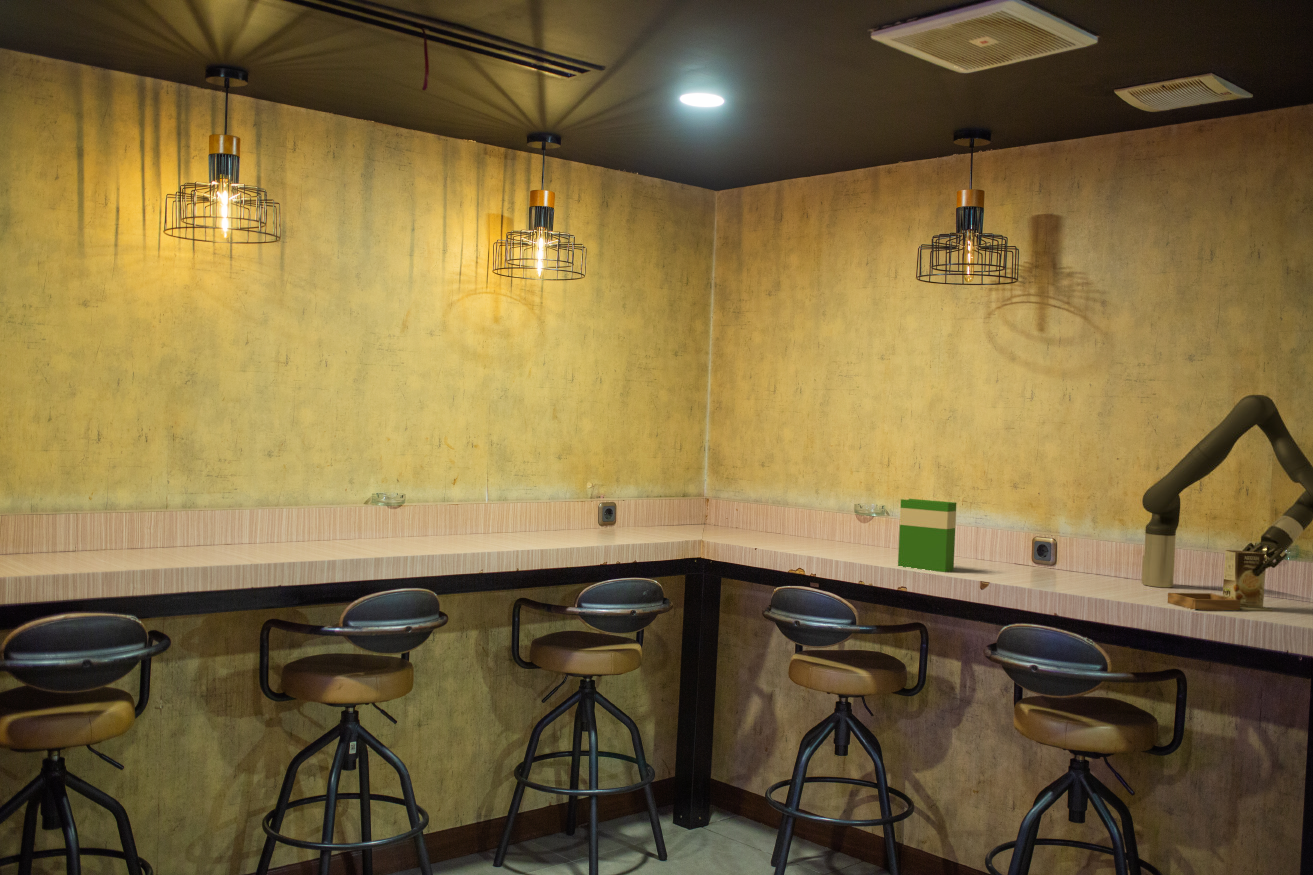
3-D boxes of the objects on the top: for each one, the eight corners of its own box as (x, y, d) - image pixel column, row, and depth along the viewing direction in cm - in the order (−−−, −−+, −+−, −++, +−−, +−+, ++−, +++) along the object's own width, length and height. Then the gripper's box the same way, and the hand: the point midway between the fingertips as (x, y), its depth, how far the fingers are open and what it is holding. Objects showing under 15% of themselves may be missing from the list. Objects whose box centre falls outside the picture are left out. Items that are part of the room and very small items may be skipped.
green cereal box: (897, 566, 382) (900, 499, 382) (906, 564, 388) (909, 498, 387) (945, 572, 371) (948, 503, 371) (953, 570, 377) (956, 502, 377)
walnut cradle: (1167, 602, 322) (1168, 592, 322) (1210, 603, 324) (1211, 593, 324) (1194, 610, 309) (1195, 599, 309) (1239, 610, 312) (1239, 600, 312)
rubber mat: (1212, 602, 324) (1212, 601, 324) (1241, 603, 326) (1241, 601, 326) (1242, 610, 312) (1242, 609, 312) (1273, 611, 313) (1273, 609, 313)
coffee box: (1234, 606, 316) (1237, 552, 315) (1221, 602, 322) (1224, 549, 322) (1264, 607, 316) (1267, 553, 316) (1250, 603, 323) (1253, 550, 322)
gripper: (1257, 522, 327) (1221, 560, 325) (1292, 527, 313) (1255, 566, 311) (1271, 540, 328) (1236, 577, 326) (1307, 546, 314) (1270, 585, 312)
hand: (1245, 572), depth 319 cm, fingers open, 7 cm apart
